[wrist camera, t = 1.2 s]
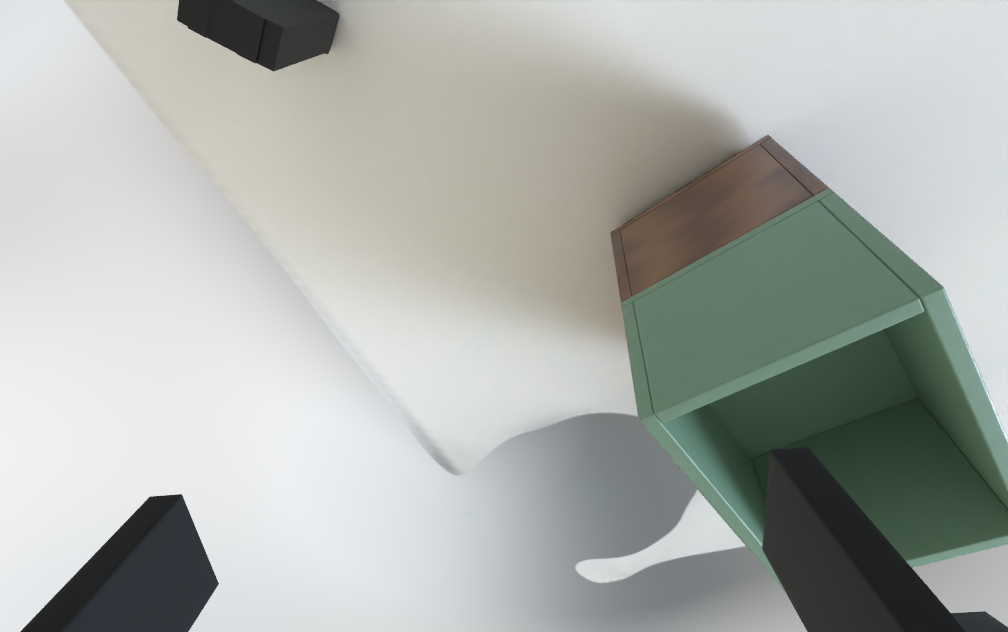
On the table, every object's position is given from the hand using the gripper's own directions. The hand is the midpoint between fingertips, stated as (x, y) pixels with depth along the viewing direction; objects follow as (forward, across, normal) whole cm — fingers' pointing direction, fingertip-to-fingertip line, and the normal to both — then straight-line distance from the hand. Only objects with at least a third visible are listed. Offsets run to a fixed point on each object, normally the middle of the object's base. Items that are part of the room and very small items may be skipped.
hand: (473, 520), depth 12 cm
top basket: (+19, +15, -5) cm, 25 cm away
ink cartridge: (+26, -11, +16) cm, 32 cm away
